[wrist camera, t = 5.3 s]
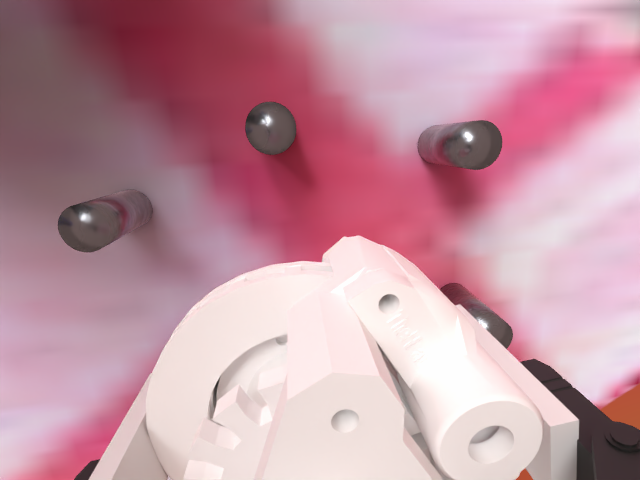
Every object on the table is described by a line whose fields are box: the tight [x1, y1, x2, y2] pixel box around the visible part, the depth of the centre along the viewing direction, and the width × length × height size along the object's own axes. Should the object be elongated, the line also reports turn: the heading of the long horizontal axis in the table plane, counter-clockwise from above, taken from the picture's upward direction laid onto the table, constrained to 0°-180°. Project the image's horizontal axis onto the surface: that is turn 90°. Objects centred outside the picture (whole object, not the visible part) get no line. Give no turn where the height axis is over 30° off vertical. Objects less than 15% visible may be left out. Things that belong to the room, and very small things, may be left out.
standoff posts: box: [58, 102, 513, 349], centre depth 27 cm, size 24×28×7 cm
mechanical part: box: [146, 236, 544, 480], centre depth 12 cm, size 11×12×12 cm
